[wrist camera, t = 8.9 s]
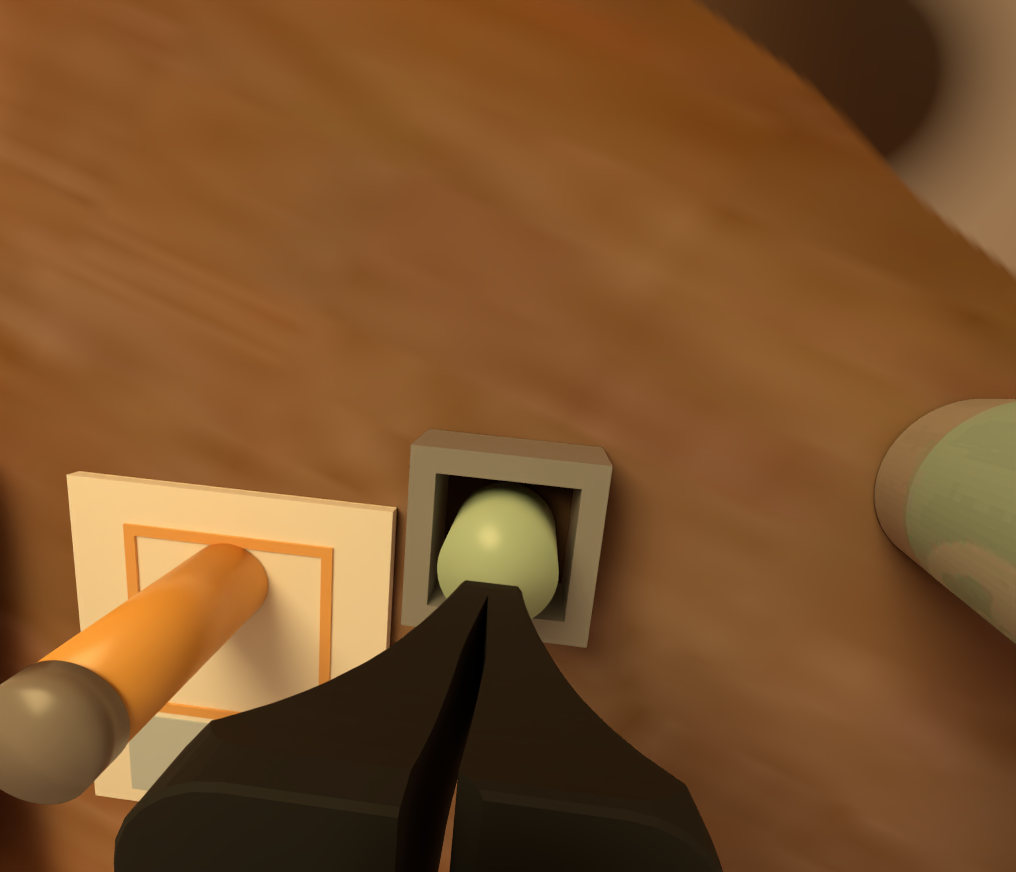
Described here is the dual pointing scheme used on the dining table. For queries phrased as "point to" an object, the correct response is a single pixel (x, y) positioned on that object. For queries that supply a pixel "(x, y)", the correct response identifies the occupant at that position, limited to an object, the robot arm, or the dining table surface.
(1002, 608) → the coffee cup
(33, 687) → the marker
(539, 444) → the button housing
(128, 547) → the sheet
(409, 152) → the dining table surface
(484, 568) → the button
